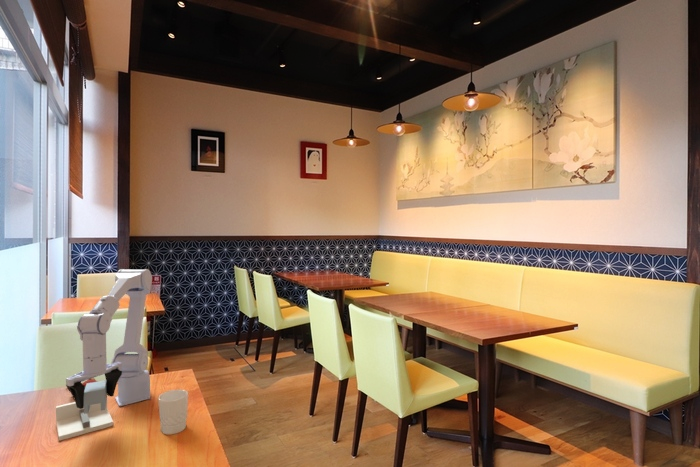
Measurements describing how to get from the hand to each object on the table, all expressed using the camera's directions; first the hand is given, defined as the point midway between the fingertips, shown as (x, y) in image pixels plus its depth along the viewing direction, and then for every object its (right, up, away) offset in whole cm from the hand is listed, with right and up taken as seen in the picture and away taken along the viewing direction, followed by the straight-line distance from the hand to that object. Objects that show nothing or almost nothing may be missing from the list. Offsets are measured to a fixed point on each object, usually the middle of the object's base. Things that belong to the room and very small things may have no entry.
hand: (95, 401), depth 116 cm
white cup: (+22, -9, +1) cm, 24 cm away
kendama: (-21, -8, +25) cm, 34 cm away
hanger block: (0, -2, 0) cm, 2 cm away
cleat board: (-5, -8, +3) cm, 10 cm away
